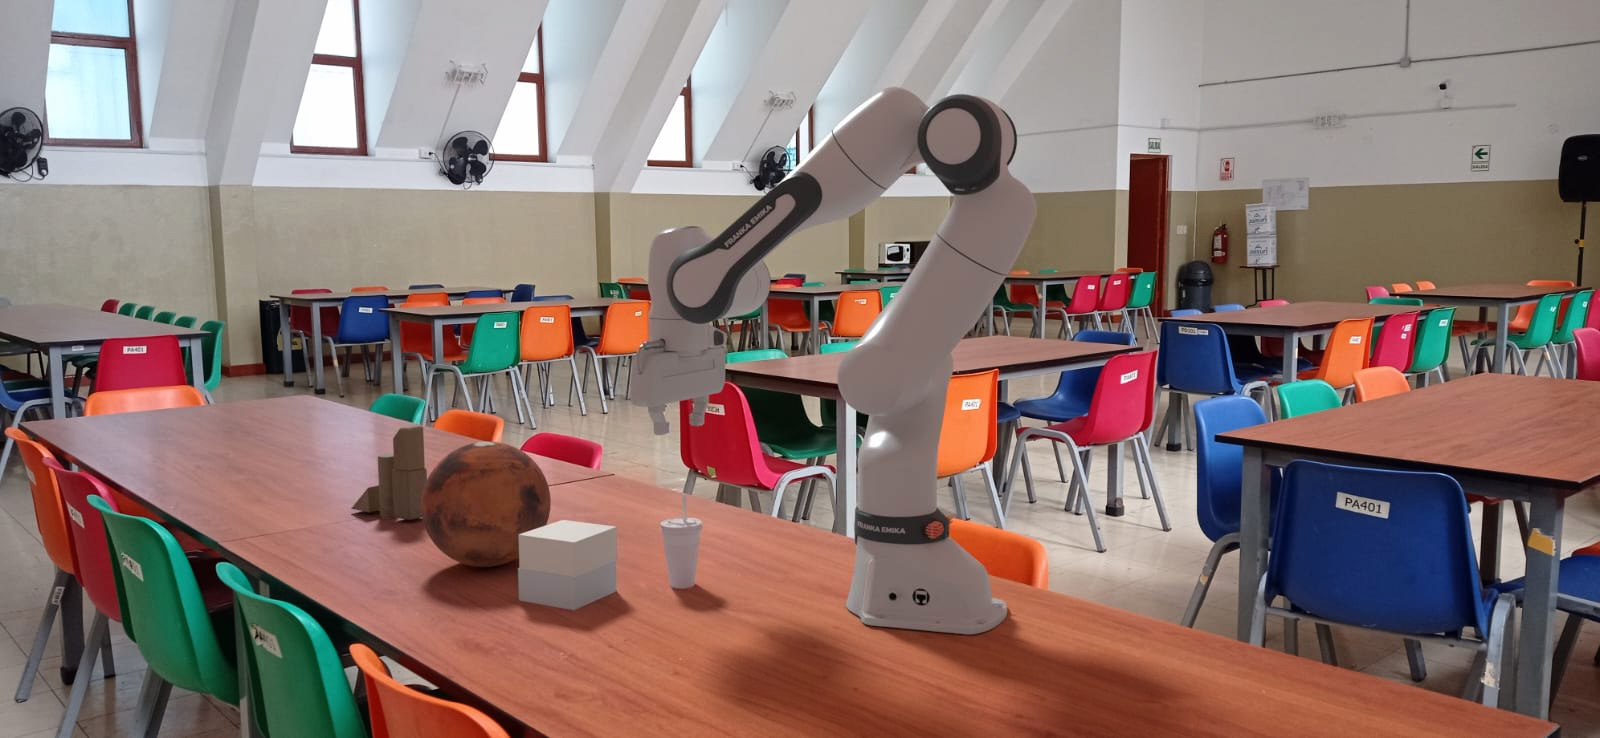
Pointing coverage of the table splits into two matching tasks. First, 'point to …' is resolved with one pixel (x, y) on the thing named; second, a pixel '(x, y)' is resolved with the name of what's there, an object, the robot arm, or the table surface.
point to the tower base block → (567, 587)
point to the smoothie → (681, 548)
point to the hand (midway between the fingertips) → (679, 429)
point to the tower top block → (568, 548)
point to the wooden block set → (399, 478)
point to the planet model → (484, 503)
